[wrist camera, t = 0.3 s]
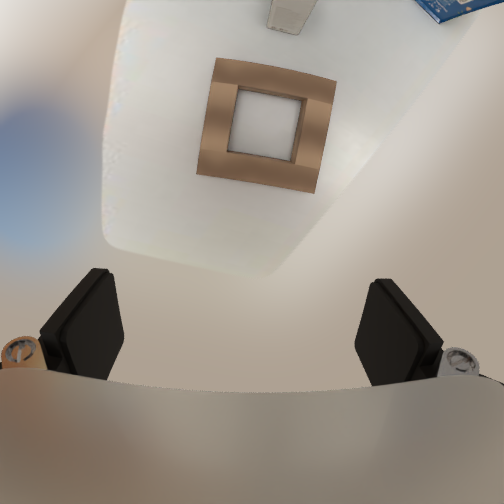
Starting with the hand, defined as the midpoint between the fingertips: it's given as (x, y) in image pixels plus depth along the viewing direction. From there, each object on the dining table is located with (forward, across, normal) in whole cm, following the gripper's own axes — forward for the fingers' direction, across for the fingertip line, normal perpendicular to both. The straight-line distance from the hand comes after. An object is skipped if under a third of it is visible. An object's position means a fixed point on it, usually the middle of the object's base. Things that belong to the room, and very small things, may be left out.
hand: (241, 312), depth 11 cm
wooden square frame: (+30, -3, -7) cm, 31 cm away
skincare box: (+30, -4, -23) cm, 38 cm away
